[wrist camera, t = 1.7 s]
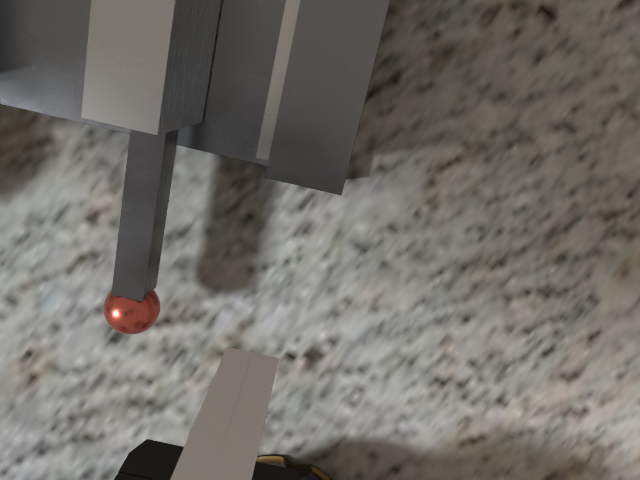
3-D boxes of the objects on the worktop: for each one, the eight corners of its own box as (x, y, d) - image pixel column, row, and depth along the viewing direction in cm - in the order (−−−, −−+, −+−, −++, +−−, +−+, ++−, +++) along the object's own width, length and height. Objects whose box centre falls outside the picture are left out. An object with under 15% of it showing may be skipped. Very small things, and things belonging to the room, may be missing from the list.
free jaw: (121, 304, 30) (59, 368, 23) (169, -85, 24) (104, -151, 17) (171, 315, 30) (124, 382, 23) (232, -69, 24) (192, -128, 17)
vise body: (-30, 92, 28) (-199, 96, 19) (-24, -163, 24) (-227, -302, 16) (343, 179, 29) (347, 222, 20) (401, -55, 25) (437, -129, 16)
